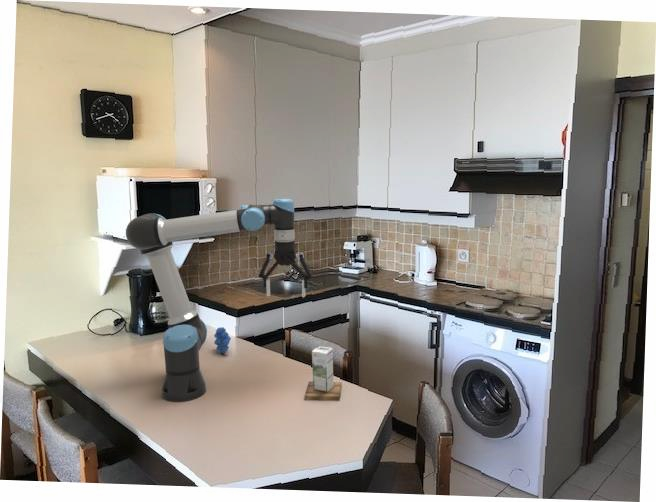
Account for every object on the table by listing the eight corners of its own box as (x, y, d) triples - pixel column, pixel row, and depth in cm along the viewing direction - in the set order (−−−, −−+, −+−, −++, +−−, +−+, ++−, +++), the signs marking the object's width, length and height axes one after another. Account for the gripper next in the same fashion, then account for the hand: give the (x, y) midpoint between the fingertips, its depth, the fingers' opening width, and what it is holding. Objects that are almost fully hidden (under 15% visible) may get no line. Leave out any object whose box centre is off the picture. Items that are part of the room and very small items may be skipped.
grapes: (237, 354, 224) (236, 327, 222) (223, 358, 220) (221, 331, 218) (225, 347, 233) (224, 321, 231) (211, 351, 229) (210, 324, 227)
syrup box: (334, 386, 186) (333, 347, 184) (327, 392, 181) (326, 352, 178) (319, 383, 188) (318, 345, 186) (312, 390, 183) (311, 350, 180)
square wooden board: (304, 400, 179) (304, 395, 179) (309, 385, 191) (308, 381, 191) (339, 400, 178) (339, 396, 178) (341, 386, 190) (341, 381, 190)
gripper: (249, 241, 192) (251, 297, 195) (316, 242, 189) (317, 299, 192) (254, 238, 199) (256, 293, 203) (319, 239, 196) (320, 294, 199)
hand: (286, 296), depth 197 cm, fingers open, 13 cm apart
